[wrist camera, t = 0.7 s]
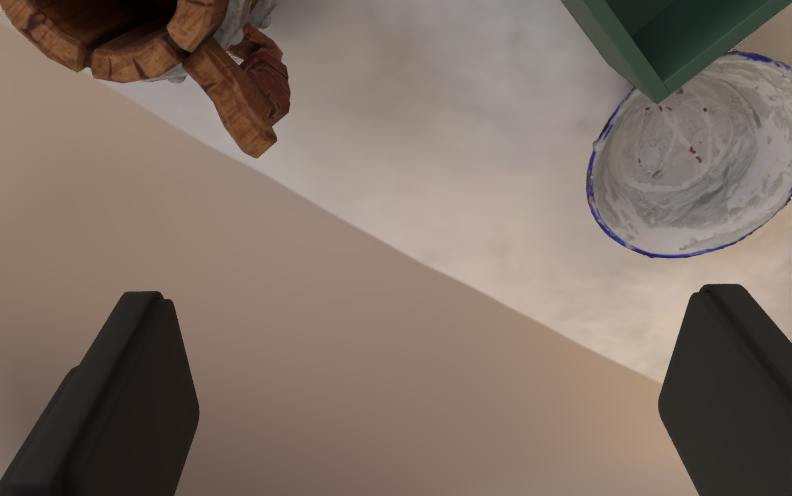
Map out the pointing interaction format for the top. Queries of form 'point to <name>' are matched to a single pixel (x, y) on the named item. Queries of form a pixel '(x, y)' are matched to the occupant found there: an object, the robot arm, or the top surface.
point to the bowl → (696, 160)
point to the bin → (667, 35)
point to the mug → (171, 51)
